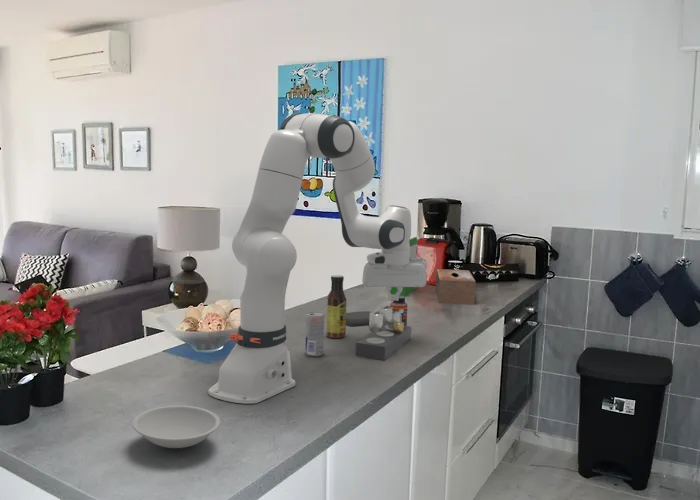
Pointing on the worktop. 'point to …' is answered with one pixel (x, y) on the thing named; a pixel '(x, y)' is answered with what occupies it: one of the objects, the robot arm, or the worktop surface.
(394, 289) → the hardback book
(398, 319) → the knob far
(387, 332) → the mount
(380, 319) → the knob near
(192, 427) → the dish
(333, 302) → the sauce bottle
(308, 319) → the energy drink
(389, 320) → the knob mid
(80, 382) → the worktop surface
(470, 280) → the tissue box cover
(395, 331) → the brass dome cylinder
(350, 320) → the spray bottle
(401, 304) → the supplement bottle
